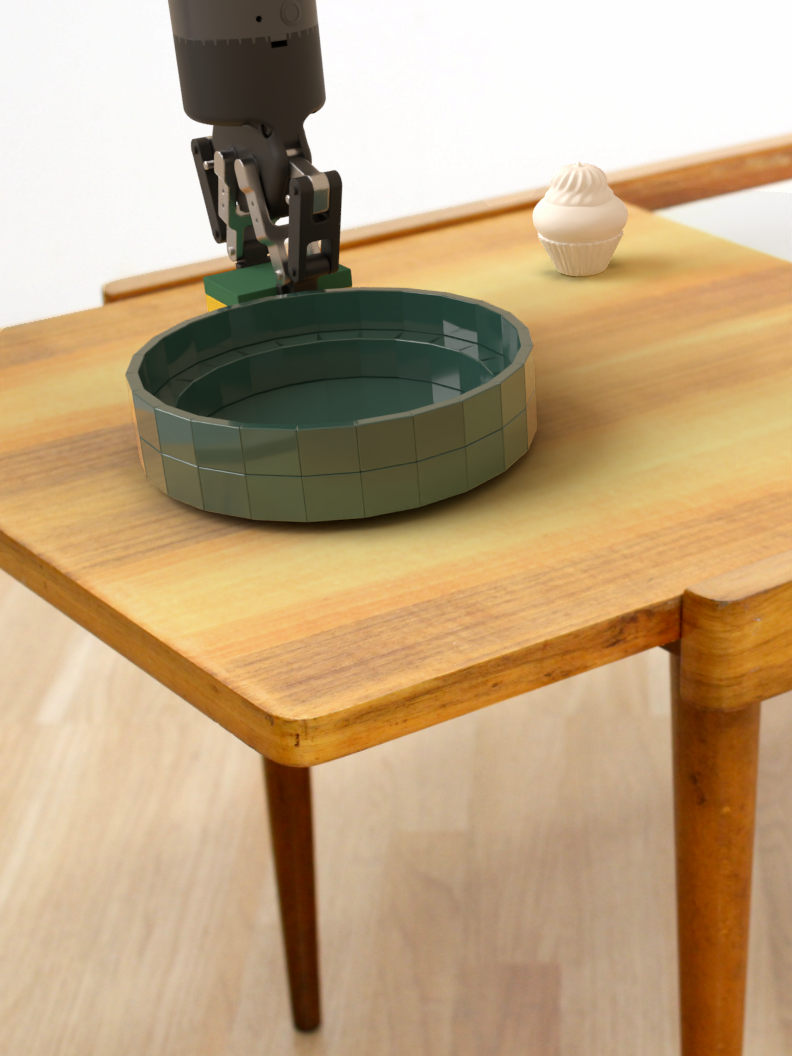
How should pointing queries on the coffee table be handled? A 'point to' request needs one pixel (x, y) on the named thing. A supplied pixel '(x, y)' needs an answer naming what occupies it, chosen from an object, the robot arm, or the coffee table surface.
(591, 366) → the coffee table surface
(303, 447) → the bowl
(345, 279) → the sponge
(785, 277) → the coffee table surface
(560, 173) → the muffin
